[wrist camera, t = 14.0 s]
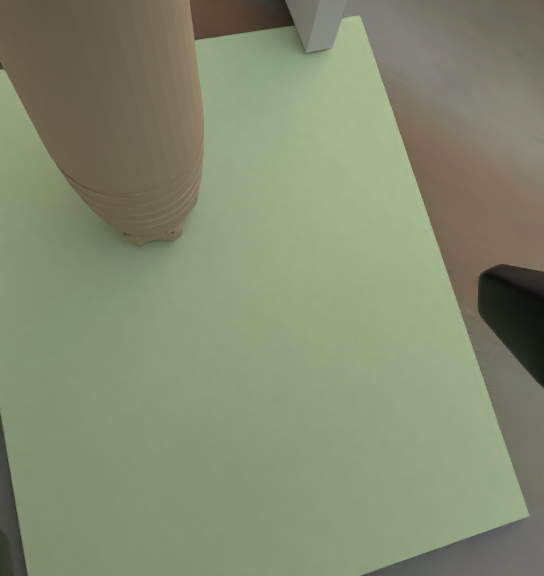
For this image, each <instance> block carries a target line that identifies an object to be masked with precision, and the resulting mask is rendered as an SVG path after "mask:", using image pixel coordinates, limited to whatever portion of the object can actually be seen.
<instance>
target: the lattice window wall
mask: <svg viewBox="0 0 544 576" xmlns="http://www.w3.org/2000/svg"><path fill="white" fill-rule="evenodd" d="M285 1H286V3H287V6H288V8H289V11H290V13H291V16H292V18H293V21H294V23H295V26H296V28H297V31H298V33H299V36H300V38H301V41H302V43H303V46H304V48H305V51H306V53H309V52H313V51H318V50H323V49H327V48H332V47H333V45H334V41H335V38H336V35H337V32H338V29H339V26H340V22H341V19H342V16H343V13H344V10H345V7H346V4H347V0H285Z"/></svg>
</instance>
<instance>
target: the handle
mask: <svg viewBox="0 0 544 576" xmlns="http://www.w3.org/2000/svg"><path fill="white" fill-rule="evenodd" d="M0 62H1V64H2V66H3V68H4V70H5V72H6V73H7V75H8V77H9V79H10V81H11V83H12V85H13V87H14V89H15V91H16V93H17V95H18V97H19V98H20V100H21V102H22V104H23V106H24V108H25V110H26V112H27V114H28V116H29V118H30V120H31V122H32V123H33V125H34V127H35V129H36V131H37V133H38V135H39V137H40V139H41V141H42V143H43V145H44V146H45V148H46V150H47V152H48V153H49V155H50V157H51V158H52V159H53V161H54V162H55V164H56V166H57V167H58V168H59V170H60V171H61V173H62V174H63V176H64V177H65V179H66V180H67V181H68V183H69V184H70V186H71V187H72V188H73V189H74V190H75V192H76V193H77V194H78V195H79V196H80V197H81V199H82V200H83V201H84V202H85V203H86V204H87V205H88V207H89V208H90V209H91V210H92V211H93V212H94V213H95V214H96V215H98V216H99V217H100V218H101V219H102V220H103V221H105V222H106V223H107V224H109V225H110V226H112V227H114V228H116V229H117V230H120V232H121V235H122V237H123V238H124V239H125V240H126V241H127V242H129V243H131V244H134V245H137V246H143V245H144V244H145V243H147V242H149V241H153V240H168V241H169V242H172V241H174V240H176V239H177V238H179V237H180V236H181V235H182V232H183V223H184V220H185V218H186V217H187V216H188V214H189V213H190V211H191V209H192V208H193V207H194V206H195V205H196V202H197V198H198V193H199V188H200V183H201V178H202V168H203V157H204V111H203V102H202V94H201V87H200V79H199V71H198V64H197V56H196V48H195V40H194V33H193V25H192V17H191V10H190V1H189V0H0Z"/></svg>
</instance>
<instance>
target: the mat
mask: <svg viewBox="0 0 544 576" xmlns="http://www.w3.org/2000/svg"><path fill="white" fill-rule="evenodd" d="M195 48H196V56H197V64H198V71H199V79H200V87H201V94H202V102H203V111H204V157H203V168H202V178H201V183H200V188H199V193H198V198H197V202H196V205H195V206H194V207H193V208H192V209H191V211H190V213H189V214H188V216H187V217H186V218H185V220H184V223H183V232H182V235H181V236H180V237H179V238H177V239H176V240H174V241H172V242H169V241H168V240H153V241H149V242H147V243H145V244H144V245H143V246H137V245H134V244H131V243H129V242H127V241H126V240H125V239H124V238H123V237H122V235H121V232H120V230H117V229H116V228H114V227H112V226H110V225H109V224H107V223H106V222H105V221H103V220H102V219H101V218H100V217H99V216H98V215H96V214H95V213H94V212H93V211H92V210H91V209H90V208H89V207H88V205H87V204H86V203H85V202H84V201H83V200H82V199H81V197H80V196H79V195H78V194H77V193H76V192H75V190H74V189H73V188H72V187H71V186H70V184H69V183H68V181H67V180H66V179H65V177H64V176H63V174H62V173H61V171H60V170H59V168H58V167H57V166H56V164H55V162H54V161H53V159H52V158H51V157H50V155H49V153H48V152H47V150H46V148H45V146H44V145H43V143H42V141H41V139H40V137H39V135H38V133H37V131H36V129H35V127H34V125H33V123H32V122H31V120H30V118H29V116H28V114H27V112H26V110H25V108H24V106H23V104H22V102H21V100H20V98H19V97H18V95H17V93H16V91H15V89H14V87H13V85H12V83H11V81H10V79H9V77H8V75H7V73H6V72H5V70H4V69H3V70H0V413H1V419H2V425H3V431H4V437H5V443H6V449H7V455H8V461H9V467H10V473H11V479H12V485H13V491H14V497H15V503H16V509H17V515H18V521H19V527H20V533H21V539H22V545H23V551H24V557H25V563H26V569H27V575H28V576H361V575H364V574H367V573H370V572H372V571H375V570H378V569H381V568H384V567H387V566H389V565H392V564H395V563H398V562H401V561H404V560H406V559H409V558H412V557H415V556H418V555H421V554H423V553H426V552H429V551H432V550H435V549H438V548H441V547H443V546H446V545H449V544H452V543H455V542H458V541H460V540H463V539H466V538H469V537H472V536H475V535H477V534H480V533H483V532H486V531H489V530H492V529H494V528H497V527H500V526H503V525H506V524H509V523H512V522H514V521H517V520H520V519H523V518H526V517H528V516H529V513H528V510H527V507H526V504H525V501H524V498H523V495H522V493H521V490H520V487H519V484H518V481H517V478H516V475H515V472H514V469H513V466H512V463H511V460H510V457H509V454H508V451H507V448H506V445H505V442H504V439H503V436H502V433H501V430H500V428H499V425H498V422H497V419H496V416H495V413H494V410H493V407H492V404H491V401H490V398H489V395H488V392H487V389H486V386H485V383H484V380H483V377H482V374H481V371H480V368H479V366H478V363H477V360H476V357H475V354H474V351H473V348H472V345H471V342H470V339H469V336H468V333H467V330H466V327H465V324H464V321H463V318H462V315H461V312H460V309H459V306H458V304H457V301H456V298H455V295H454V292H453V289H452V286H451V283H450V280H449V277H448V274H447V271H446V268H445V265H444V262H443V259H442V256H441V253H440V250H439V247H438V244H437V241H436V239H435V236H434V233H433V230H432V227H431V224H430V221H429V218H428V215H427V212H426V209H425V206H424V203H423V200H422V197H421V194H420V191H419V188H418V185H417V182H416V179H415V177H414V174H413V171H412V168H411V165H410V162H409V159H408V156H407V153H406V150H405V147H404V144H403V141H402V138H401V135H400V132H399V129H398V126H397V123H396V120H395V117H394V114H393V112H392V109H391V106H390V103H389V100H388V97H387V94H386V91H385V88H384V85H383V82H382V79H381V76H380V73H379V70H378V67H377V64H376V61H375V58H374V55H373V52H372V50H371V47H370V44H369V41H368V38H367V35H366V32H365V29H364V26H363V23H362V20H361V17H360V16H353V17H346V18H342V19H341V22H340V26H339V29H338V32H337V35H336V38H335V41H334V45H333V47H332V48H327V49H323V50H318V51H313V52H309V53H306V51H305V48H304V46H303V43H302V41H301V38H300V36H299V33H298V31H297V28H296V26H295V25H294V26H287V27H280V28H274V29H267V30H261V31H254V32H247V33H241V34H234V35H228V36H221V37H214V38H208V39H201V40H195Z"/></svg>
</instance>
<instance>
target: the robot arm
mask: <svg viewBox="0 0 544 576" xmlns="http://www.w3.org/2000/svg"><path fill="white" fill-rule="evenodd" d="M478 311H479V314H480V316H481V317H482V319H483V320H484V322H485V323H486V324H487V325H488V326H489V327H490V328H491V330H492V331H493V332H494V333H495V334H496V335H497V337H498V338H499V339H500V340H501V341H502V342H503V344H504V345H505V346H506V347H507V348H508V349H509V351H510V352H511V353H512V354H513V355H514V356H515V358H516V359H517V360H518V361H519V362H520V363H521V365H522V366H523V367H524V368H525V369H526V370H527V371H528V372H529V374H530V375H531V376H532V377H533V378H534V379H535V380H536V381H537V382H538V383H539V384H540V385H541V386H542V387H543V388H544V272H542V271H537V270H532V269H526V268H521V267H516V266H510V265H504V264H500V265H496V266H494V267H492V268H490V269H488V270H485V271H483V272H482V273H481V274H480V276H479V280H478ZM0 576H14V569H13V562H12V555H11V548H10V544H9V541H8V538H7V536H6V535H5V533H4V532H3V531H2V530H1V529H0Z"/></svg>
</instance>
